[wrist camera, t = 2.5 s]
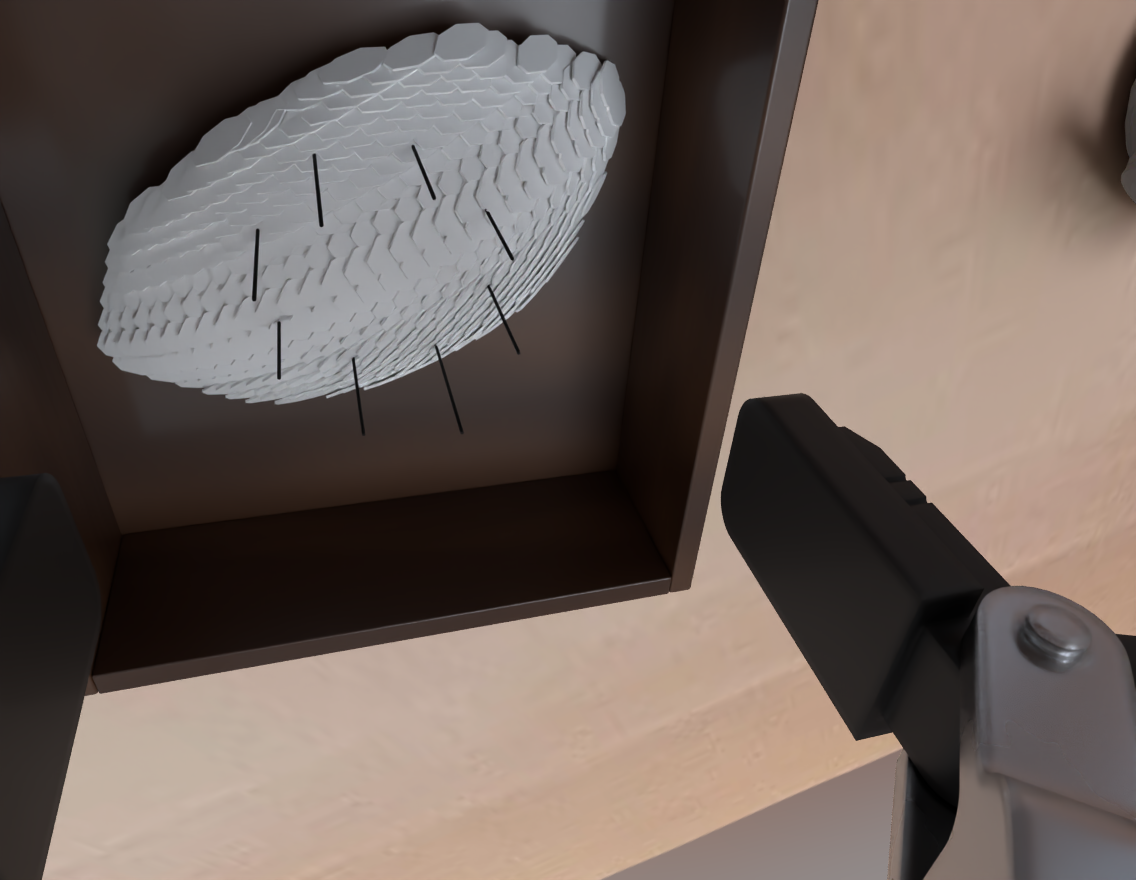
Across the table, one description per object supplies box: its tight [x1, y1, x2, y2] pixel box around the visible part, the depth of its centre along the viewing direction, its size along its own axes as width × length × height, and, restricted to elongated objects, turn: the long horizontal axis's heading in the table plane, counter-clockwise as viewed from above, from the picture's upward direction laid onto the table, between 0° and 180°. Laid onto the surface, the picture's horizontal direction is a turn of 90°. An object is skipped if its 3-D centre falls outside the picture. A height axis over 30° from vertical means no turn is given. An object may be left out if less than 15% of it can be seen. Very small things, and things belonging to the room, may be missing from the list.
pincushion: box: [97, 23, 626, 436], centre depth 15 cm, size 12×6×6 cm, turn 112°
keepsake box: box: [0, 0, 818, 696], centre depth 16 cm, size 17×14×5 cm
